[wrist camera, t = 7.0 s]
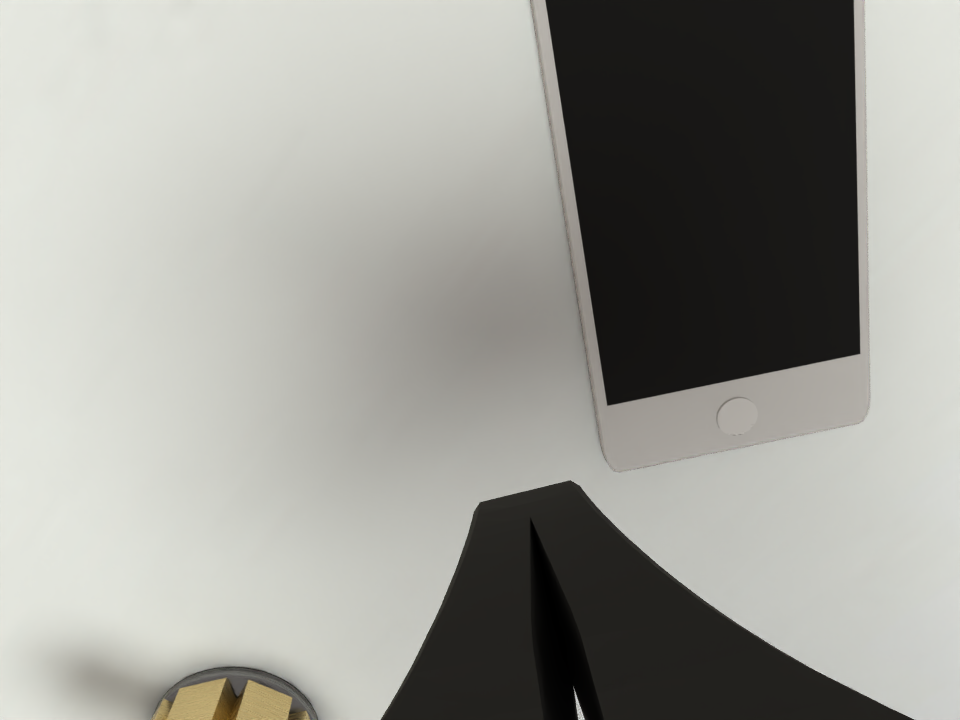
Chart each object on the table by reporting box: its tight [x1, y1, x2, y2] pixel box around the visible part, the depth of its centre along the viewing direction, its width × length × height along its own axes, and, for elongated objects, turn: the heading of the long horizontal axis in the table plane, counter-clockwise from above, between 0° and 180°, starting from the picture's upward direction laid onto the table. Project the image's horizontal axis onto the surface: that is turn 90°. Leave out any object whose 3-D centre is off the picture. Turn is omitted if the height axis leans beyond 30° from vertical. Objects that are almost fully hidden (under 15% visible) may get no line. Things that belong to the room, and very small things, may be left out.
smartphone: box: [530, 0, 870, 472], centre depth 17 cm, size 7×16×1 cm, turn 11°
